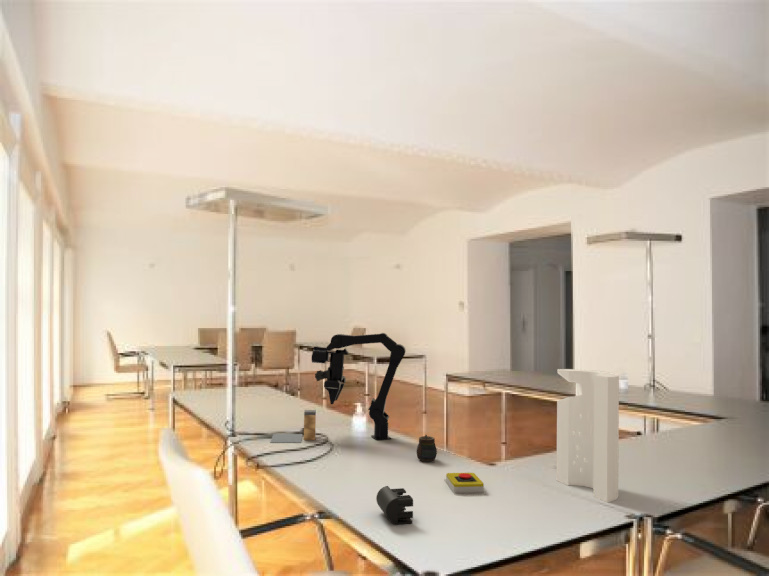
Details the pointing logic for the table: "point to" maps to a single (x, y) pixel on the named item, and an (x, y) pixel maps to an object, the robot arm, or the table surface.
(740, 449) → the table surface
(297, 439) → the slate mat
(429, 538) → the table surface
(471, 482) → the emergency button
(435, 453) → the dark lidded jar
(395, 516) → the end cap
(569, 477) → the white notched upright
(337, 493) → the table surface
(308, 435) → the oak block
